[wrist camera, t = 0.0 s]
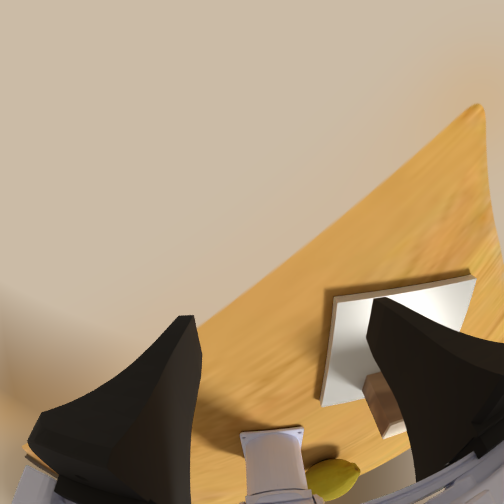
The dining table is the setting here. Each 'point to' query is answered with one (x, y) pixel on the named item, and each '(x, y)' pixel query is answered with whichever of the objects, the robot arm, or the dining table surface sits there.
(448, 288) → the board
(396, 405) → the slab
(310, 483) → the lemon
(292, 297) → the dining table surface
